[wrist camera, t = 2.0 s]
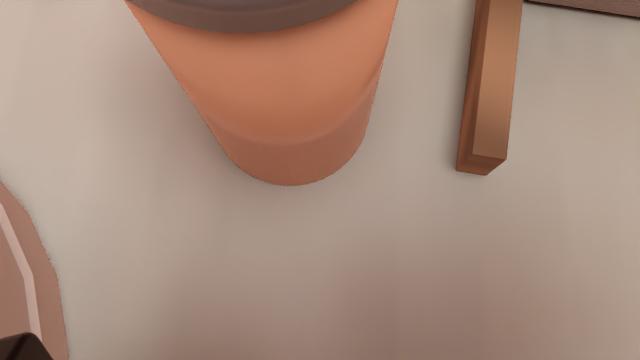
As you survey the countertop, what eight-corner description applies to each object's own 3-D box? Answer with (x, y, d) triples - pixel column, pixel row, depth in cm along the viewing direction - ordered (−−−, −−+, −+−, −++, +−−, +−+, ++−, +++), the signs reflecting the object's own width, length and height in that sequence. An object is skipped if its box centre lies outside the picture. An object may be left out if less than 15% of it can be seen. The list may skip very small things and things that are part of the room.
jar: (341, 214, 21) (375, 44, 7) (182, 157, 22) (-76, -103, 8) (395, 63, 23) (513, -330, 9) (244, 13, 23) (121, -433, 9)
